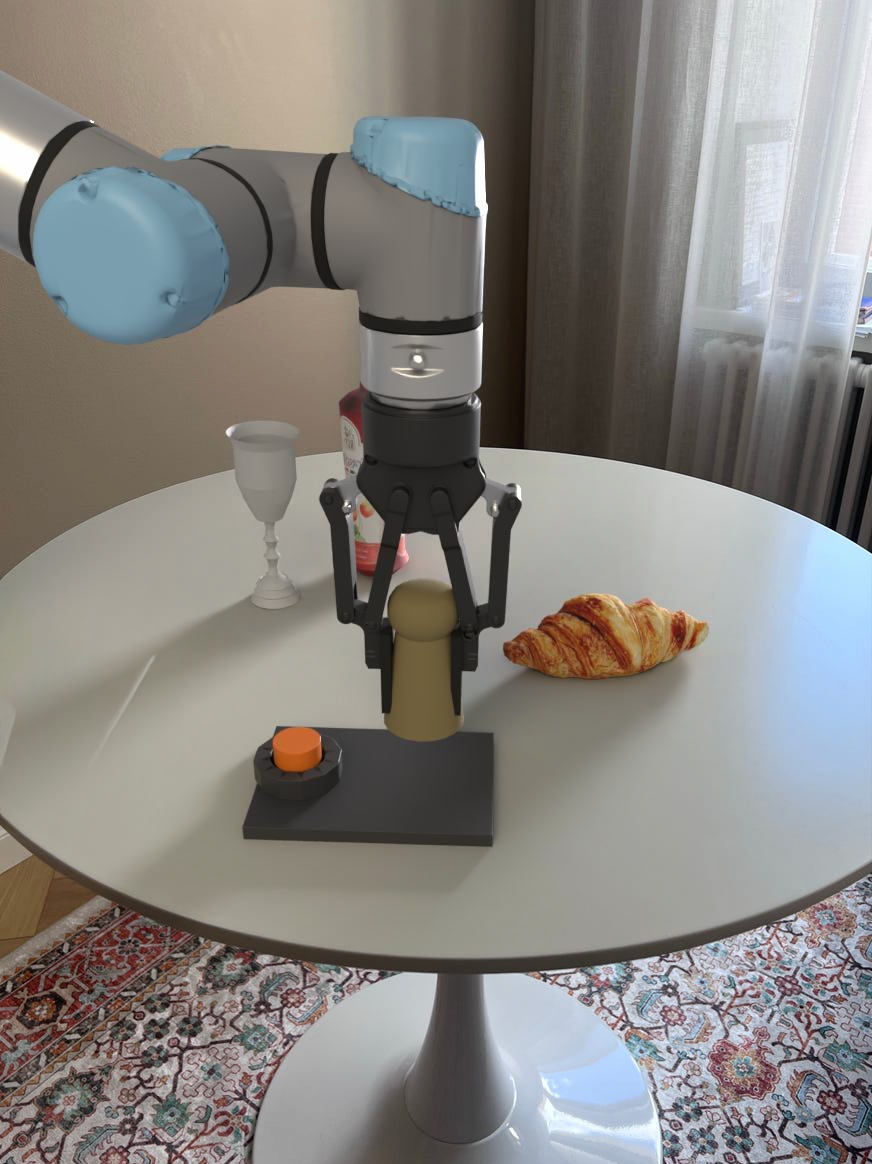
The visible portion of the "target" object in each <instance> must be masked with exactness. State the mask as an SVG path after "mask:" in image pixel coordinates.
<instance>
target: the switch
mask: <svg viewBox="0 0 872 1164" xmlns="http://www.w3.org/2000/svg"><path fill="white" fill-rule="evenodd" d="M306 727H307V726H293V728H288V729H285V730H283V731H281V732H279V733H278V734H277V735H276V736H275V737H274V739H273V753H274V762H275V765H276V766H277V767H278V768H279V769H281V770H284V771H297V772H301V771H304V770H308V769H311V768H315V767H316V766H317V765H318V764H319V763H320V762H321V759H322V752H321V737H320V735H319V734H318V733H317V732H316V731H315V730H313V729H310V728H306Z"/></svg>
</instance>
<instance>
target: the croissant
mask: <svg viewBox="0 0 872 1164" xmlns="http://www.w3.org/2000/svg"><path fill="white" fill-rule="evenodd" d="M709 632H710V625H709V624H708V622H707V621H698V619H696V618H695V617H693V616H691V614H689V613H687V612H686V611H684V610H681V609H680V610H678V611H673V612H672V611H670V610H669V609H667V608H665V607H661V606H659V605H658V604H657V603H656V602H653V600H651V599H650V598H648V597H645V598H642V599H639V600H636V601H635V602H634V603H631V604H625V603H624V602H623V601H622V600H621V599H620V598H619V597H617V596H615V595H612V594H610V593H596V592H591V593H582V594H580V595H578V596H575V597H573V598H571V599H568V600H566V601H564V603H563V605H562V606H561V608H560V609H559V610H558V611H557V612H556V613H553V614H547V615H546V616H544V617H543V618H542V619H541V621H540V623H539V624H538V626H537V629H536V628H533V627H529V628H527V629H526V630H523V631H521V632H520V633H519V634H517V635H516V636H515V637H514V638H512V640H507V641H506V642H503V643H502V650H503V651H502V652H503V655H504V657H505V658H507V660H508V661H509V662H511V663H512V664H514V665H519V666H522V667H526V668H531V669H533V670H537V671H540V672H541V673H543V674H545V675H548V676H552V677H558V678H560V679H564V678H582V679H586V680H587V679H589V680H600V679H603V680H604V679H608V678H613V677H627V676H633V675H637V674H639V673H642V672H643V673H644V672H646V671H648V670H650V669H652V668H654V667H655V666H656V665H659V664H660V663H664V662H668V661H670V660H672V659H674V658H676V657H677V656H678V655H680V654H681V653H682V652H684V651H690V650H692V649H694V648H696V647H697V646H699V645H700V644H702V643H703V642H704V641H705V640H706V638H707V637H708V635H709Z"/></svg>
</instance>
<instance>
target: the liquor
mask: <svg viewBox="0 0 872 1164" xmlns="http://www.w3.org/2000/svg"><path fill="white" fill-rule="evenodd" d="M358 329H359V330H360V321H359V320H358ZM359 373H360V374H359V385H358V386H359V387H358V388H355V389H353V390H350V391H349V392H347V393H346V395H344V396H343V397H342V398H341V399H339V401H338V409H339V420H340V435H341V449H342V457H343V467H344V476H345V478H344V479H346V478H349V477H352V476H355V475H357V473H358V470H359V467H360V466H361V464H362V462H363V427H362V399H363V397H364V396H365V395H366V394H367V392H369V391H368V390H367V389H366V388H365V387H364V386H363V385H362V383H361V370H360V371H359ZM357 499H358V502H357V506H356V508H355V510H354V511H353V512H352V513H353V523H354V539H355V556H356V571H358V572H359V573H360V574H362V575H364V576H366V577H367V576H368V577H372V578H373V576H374V572H375V567H376V563H377V558H378V553H379V549H380V544H381V539H382V535H383V530H384V526H385V522H384V521H383V520H382V518H381V517H380V516H379V515H378V513H377V512H376V511H375V509H374V508H373V507H372V506H371V504H370V503H369V502H368V501H367V499H366V498H365V497H364V495H363V494H362V493H360V494H358V495H357ZM409 559H410V557H409V554H408V552H407V550H406V534H401V538H400V543H399V547H398V551H397V555H396V560H395V564H394V569H393V573H392V575H394V574H395V573H396V572H398V571H399V570H400V569H401V568H403V567H404V565H406V564H407V563H408V562H409Z"/></svg>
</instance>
